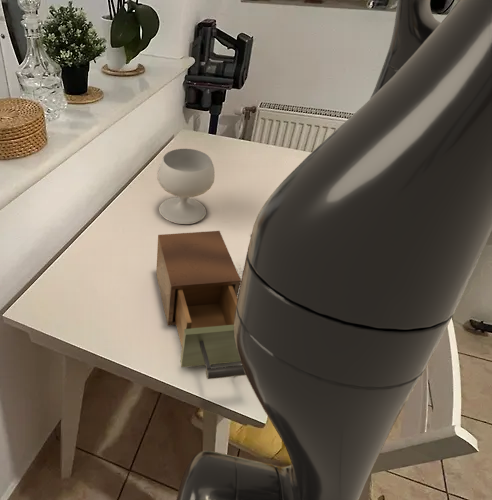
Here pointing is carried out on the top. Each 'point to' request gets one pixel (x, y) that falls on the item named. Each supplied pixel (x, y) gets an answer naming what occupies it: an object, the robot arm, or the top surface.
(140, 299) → the top surface
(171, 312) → the cabinet
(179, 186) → the chalice
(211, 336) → the drawer
